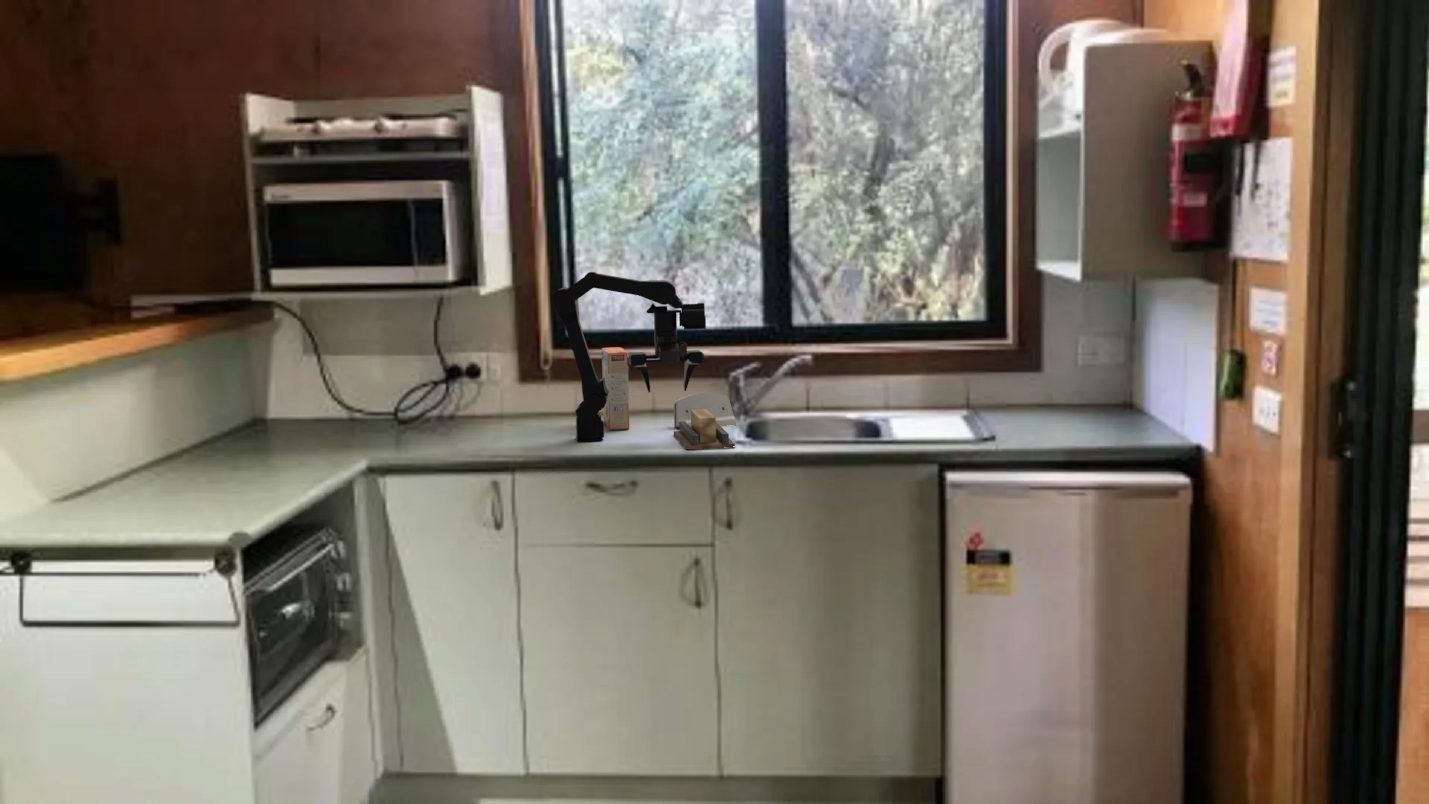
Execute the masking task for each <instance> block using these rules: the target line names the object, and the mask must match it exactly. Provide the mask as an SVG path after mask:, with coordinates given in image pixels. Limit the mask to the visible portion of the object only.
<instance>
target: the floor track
mask: <svg viewBox="0 0 1429 804" xmlns="http://www.w3.org/2000/svg"><path fill="white" fill-rule="evenodd" d="M678 429H679V430H673V436H674V437H675V438H676V439H677V440H679V441H680V442H679V441H678V442H679V443H680V444H681V443H682V444H681V446H682V447H683V446H684V447H685V448H684V447H683V448H684V449H685V450H686V449H701V450H710V449H709V448H720V449H725V448H724V447H733V446H735V447H736V443H735V442H734V441H733V440H732V439H731V438H729V437H730V436H729V434H730V433H728V432H727V431H726V430H725V429H724V428H723V427H721V426H720V425H719V424H717V423H716V442H699V439H698V434H697V433H696V432H695V431H694V430H693V429H692V428H691V427H690V426H689V425H688V424H687V423H686V422H685V421H679V427H678Z"/></svg>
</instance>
